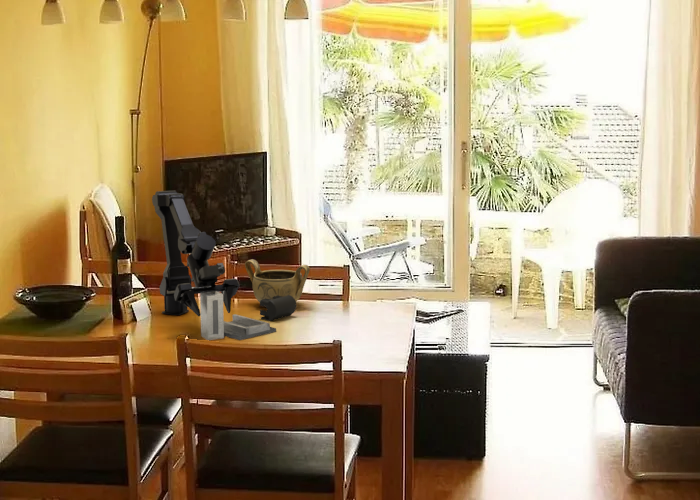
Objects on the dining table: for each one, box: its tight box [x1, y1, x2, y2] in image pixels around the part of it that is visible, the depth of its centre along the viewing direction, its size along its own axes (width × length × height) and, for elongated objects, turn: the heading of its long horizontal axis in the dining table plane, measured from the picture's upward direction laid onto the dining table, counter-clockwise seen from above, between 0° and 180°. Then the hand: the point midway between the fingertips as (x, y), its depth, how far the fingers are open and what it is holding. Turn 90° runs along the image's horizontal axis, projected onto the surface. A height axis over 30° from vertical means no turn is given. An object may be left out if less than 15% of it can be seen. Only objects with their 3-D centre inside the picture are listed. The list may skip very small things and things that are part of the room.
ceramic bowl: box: [244, 258, 311, 303], centre depth 334 cm, size 22×17×15 cm
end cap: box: [259, 295, 297, 322], centre depth 319 cm, size 10×7×7 cm
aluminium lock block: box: [199, 291, 225, 341], centre depth 295 cm, size 5×5×13 cm
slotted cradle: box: [224, 313, 277, 341], centre depth 303 cm, size 16×14×3 cm
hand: (214, 314), depth 295 cm, fingers open, 9 cm apart
